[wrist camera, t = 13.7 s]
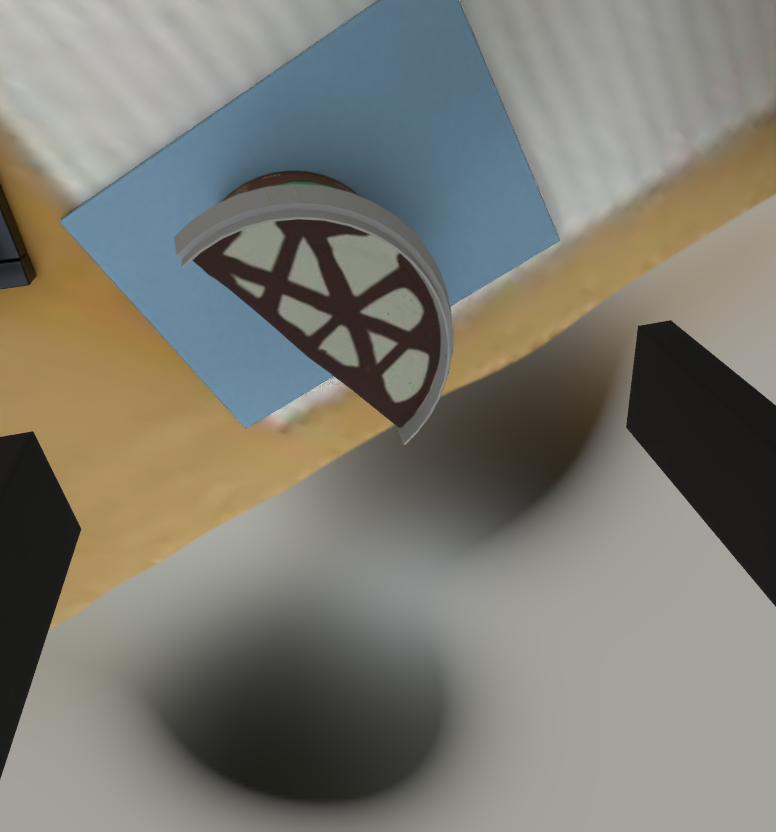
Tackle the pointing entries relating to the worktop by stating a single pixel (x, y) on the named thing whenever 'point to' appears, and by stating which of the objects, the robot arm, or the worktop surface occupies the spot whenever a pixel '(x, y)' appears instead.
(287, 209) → the food container
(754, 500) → the robot arm
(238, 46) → the worktop surface
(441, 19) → the drying mat
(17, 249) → the dish rack
